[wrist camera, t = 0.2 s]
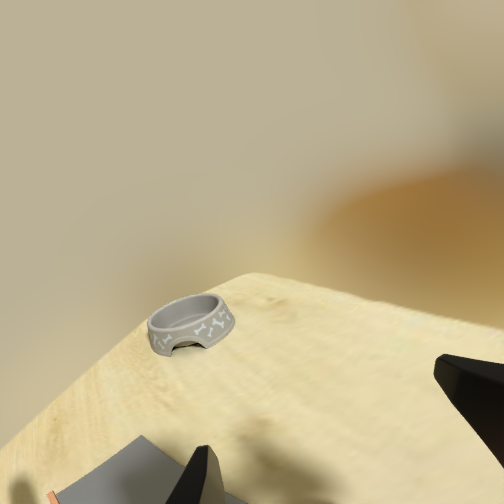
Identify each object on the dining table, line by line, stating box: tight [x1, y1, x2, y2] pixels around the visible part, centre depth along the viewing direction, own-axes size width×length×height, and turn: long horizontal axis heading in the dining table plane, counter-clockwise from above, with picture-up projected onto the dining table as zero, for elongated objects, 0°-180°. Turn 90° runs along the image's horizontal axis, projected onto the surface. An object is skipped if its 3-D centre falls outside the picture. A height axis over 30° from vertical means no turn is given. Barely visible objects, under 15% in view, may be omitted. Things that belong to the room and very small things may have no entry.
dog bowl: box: [147, 293, 235, 357], centre depth 52 cm, size 17×18×5 cm
